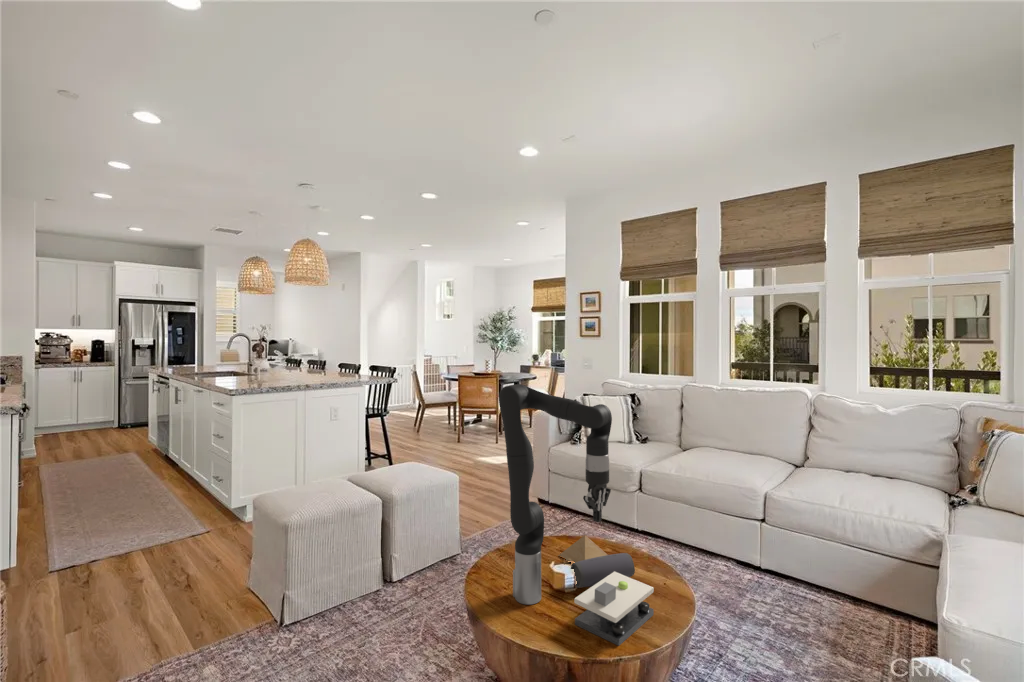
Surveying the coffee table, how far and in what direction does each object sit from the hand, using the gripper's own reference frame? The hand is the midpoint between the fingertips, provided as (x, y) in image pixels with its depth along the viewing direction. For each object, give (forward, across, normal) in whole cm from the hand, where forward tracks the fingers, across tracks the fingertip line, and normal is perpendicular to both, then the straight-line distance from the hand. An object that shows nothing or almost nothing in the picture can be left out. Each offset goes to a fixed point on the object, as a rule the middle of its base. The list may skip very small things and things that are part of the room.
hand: (597, 520), depth 161 cm
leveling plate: (+26, -5, +4) cm, 27 cm away
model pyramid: (+34, -35, -29) cm, 57 cm away
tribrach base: (+33, -5, +4) cm, 34 cm away
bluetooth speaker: (+33, -22, -12) cm, 42 cm away
